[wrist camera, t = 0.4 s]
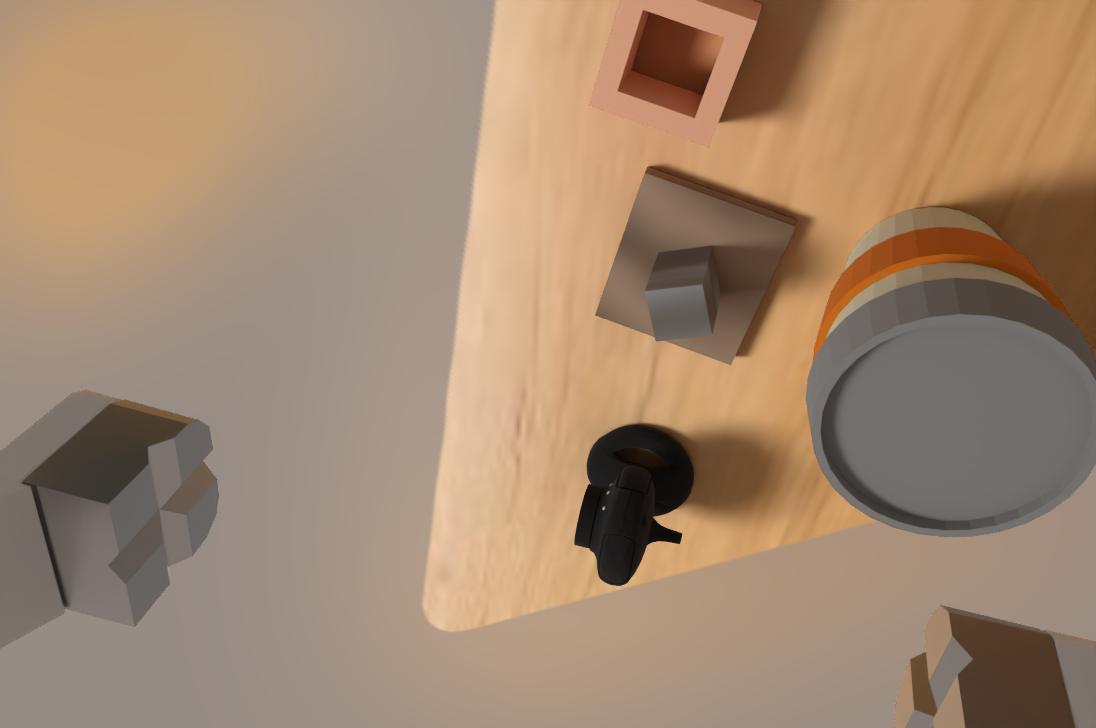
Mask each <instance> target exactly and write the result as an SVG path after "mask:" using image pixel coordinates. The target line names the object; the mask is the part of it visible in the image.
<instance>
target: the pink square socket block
mask: <svg viewBox="0 0 1096 728" xmlns="http://www.w3.org/2000/svg"><path fill="white" fill-rule="evenodd" d="M761 7H762V4H761V3H759V2H756V1H753V0H620V2H619V6H618V9H617V12H616V16H615V19H614V23H613V26H612V29H611V33H610V36H609V39H608V43H607V46H606V50H605V53H604V56H603V60H602V63H601V66H600V70H599V73H598V76H597V80H596V83H595V87H594V90H593V93H592V97H591V100H590V103H589V105H590V106H592V107H595V108H598V109H601V110H604V111H607V112H609V113H612V114H615V115H618V116H621V117H624V118H626V119H629V120H632V121H635V122H638V123H641V124H643V125H646V126H649V127H652V128H655V129H657V130H660V131H663V132H666V133H669V134H672V135H674V136H677V137H680V138H683V139H686V140H689V141H691V142H694V143H697V144H700V145H703V146H706V147H708V148H709V146H710V143H711V140H712V138H713V135H714V133H715V130H716V127H717V125H718V122H719V120H720V117H721V115H722V112H723V109H724V107H725V104H726V102H727V99H728V96H729V94H730V91H731V89H732V86H733V83H734V81H735V78H736V76H737V73H738V70H739V68H740V65H741V63H742V60H743V57H744V55H745V52H746V50H747V47H748V45H749V42H750V39H751V37H752V34H753V32H754V29H755V26H756V24H757V21H758V18H759V14H760V11H761ZM649 12H651V13H654V14H657V15H660V16H663V17H665V18H668V19H671V20H674V21H677V22H680V23H683V24H686V25H689V26H691V27H694V28H697V29H700V30H703V31H706V32H709V33H712V34H715V35H717V36H720V37H723V38H724V40H723V43H722V46H721V49H720V51H719V54H718V57H717V59H716V62H715V65H714V68H713V70H712V73H711V76H710V78H709V81H708V84H707V87H706V89H705V92H704V95H700V94H698V93H695V92H692V91H689V90H686V89H683V88H680V87H678V86H675V85H672V84H669V83H666V82H663V81H660V80H658V79H655V78H652V77H649V76H646V75H643V74H640V73H638V72H635V71H632V70H631V69H632V66H633V63H634V59H635V56H636V53H637V50H638V47H639V44H640V40H641V37H642V34H643V31H644V28H645V25H646V22H647V18H648V15H649Z"/></svg>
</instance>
